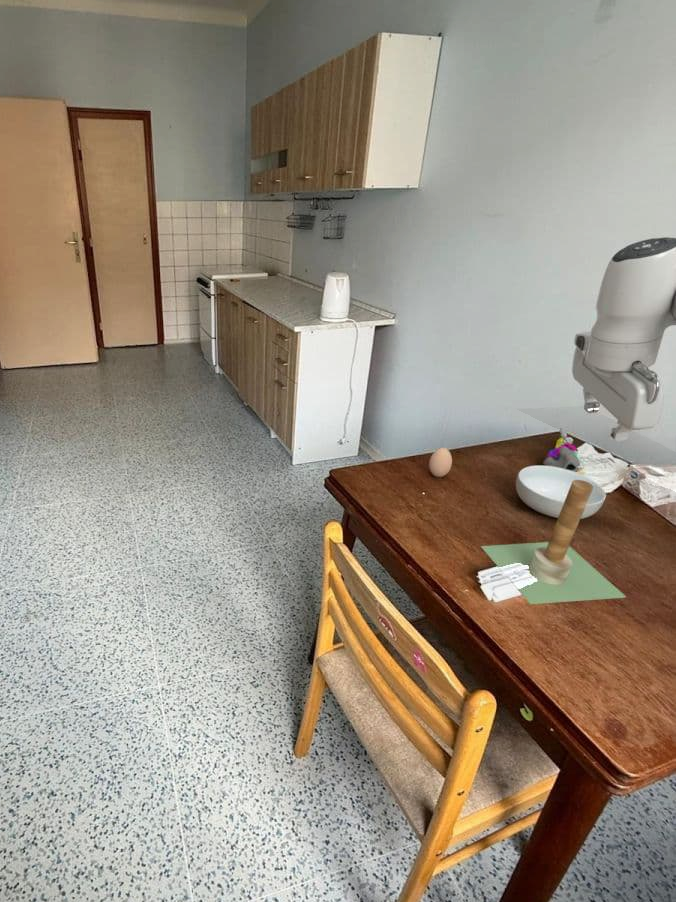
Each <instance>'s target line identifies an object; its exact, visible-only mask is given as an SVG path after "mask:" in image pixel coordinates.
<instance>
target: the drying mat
mask: <svg viewBox="0 0 676 902" xmlns="http://www.w3.org/2000/svg"><path fill="white" fill-rule="evenodd" d="M548 543H549V541H542V542H541V541H539V542H526V543H512V544H511V543H510V544H509V543H508V544H495V545H494V544H493V545H480V548H481V549H482V550H483V552H485V553H486V555H487V556H488V557H489V559H491V560H492V562H493V563H494V564H495V565H496V567H497V568H499V567H503V566H506V565H510V564H514V563H521V564H523V565H528V566H530V563H531V561H532V558H533V555H534V553H535V550H536V549H538V548H541V547H547V546H548ZM566 555H567V556H569V557H570V559H571V560H572V563H573V564H572V567H571V569H570V571H569V574H568V576H567V578H566V581H565V582H564V583H563V584H560V585H553V584H548V583H545V582H542V581H540V580H538V579H537V580H538V581H537V582H534V583H533V584H531V585H527V586H525V587H523V588H521V589H517V591H518V592H519V593H520V595H522V597H523V598H524V599H525V600H526V601H527V602H528V604H529V605H536V604H537V605H539V604H551V603H565V602H566V603H567V602H580V601H595V600H609V599H625V598H627V596H626V595H625V594H624V593H623V592H622V591H621V590H620V589H618V588H617V586H615V585H614V584H612V583H611V582H610V581H609V580H608V579H607V578H606V577H605V576H604V575H603V574H601V572H599V571H598V570H597V569H596V567H594V566H593V565H591V564H590V563H589V562H588V561H587V560H586V559H584V558H583V556H581V555H580V554H579V553H578V552H577V551H576V550H574V548H572V547H571V546H570V545H569V547H568V550H567V552H566ZM530 574H531V573H530ZM531 575H532V574H531ZM532 576H533V575H532Z"/></svg>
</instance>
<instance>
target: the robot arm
mask: <svg viewBox="0 0 676 902" xmlns="http://www.w3.org/2000/svg"><path fill="white" fill-rule="evenodd" d="M598 291H599V292H598V295H597V300H596V305H595V311H596V320H595V322H594V324H593V325H592V327H591V330H589V331H583V332H579V333H576V334H575V336H574V340H573V341H574V343H573V344H574V346H575V348H574V352H573V359H572V364H571V365H572V368H571V370H572V371H571V372H572V373H571V374H572V377H573V379H574V380H575V381H576V382H577V384H579V385H580V386H581V387H582V392H583V393H582V394H583V400H584V405H583V409H584V410H585V411H586V413H588V414H595V413H598V412H599V410H600V406H601V405H602V407H604V408H605V409H606V410H607V411H608V412H609V413H610V414H611V415H612V416H613V417H614V418H615V419H616V420H617V421H616V422H617V424H618V425H617V427H612V428H611V431H610V432H611V433H610V437H611V438H612V439H613V440H614V441H615V442H624V441H626V440H628V437H629V434H630V432H631V431H637V430H638V431H639V430H647V429H648V430H649V429H653V428H654V427H656V426H657V425H658V424H659V422H660V418H661V413H662V409H663V403H664V396H665V388H664V385H663V383H662V381H661V380H660V379H658V374H657V373H656V372H655V371H654V370H652V369H650V367H653V366H654V365H655V363H656V361H657V357H658V354H659V351H660V347H661V344H662V341H663V337H664V333H665V331H666V329H667V328H669V327H672V326H676V237H668V236H667V237H656V238H655V237H653V238H649V239H644V240H640V241H637V242H634V243H631V244H629V245H627V246H625V247H622V248H621V249H620V250H618V251H617V252H616V253H615V254H614V255H613V256H612V257H611V259H610V260H609V262H608V264H607V266H606V268H605V271H604V274H603V277H602V280H601V283H600V287H599V290H598Z"/></svg>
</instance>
